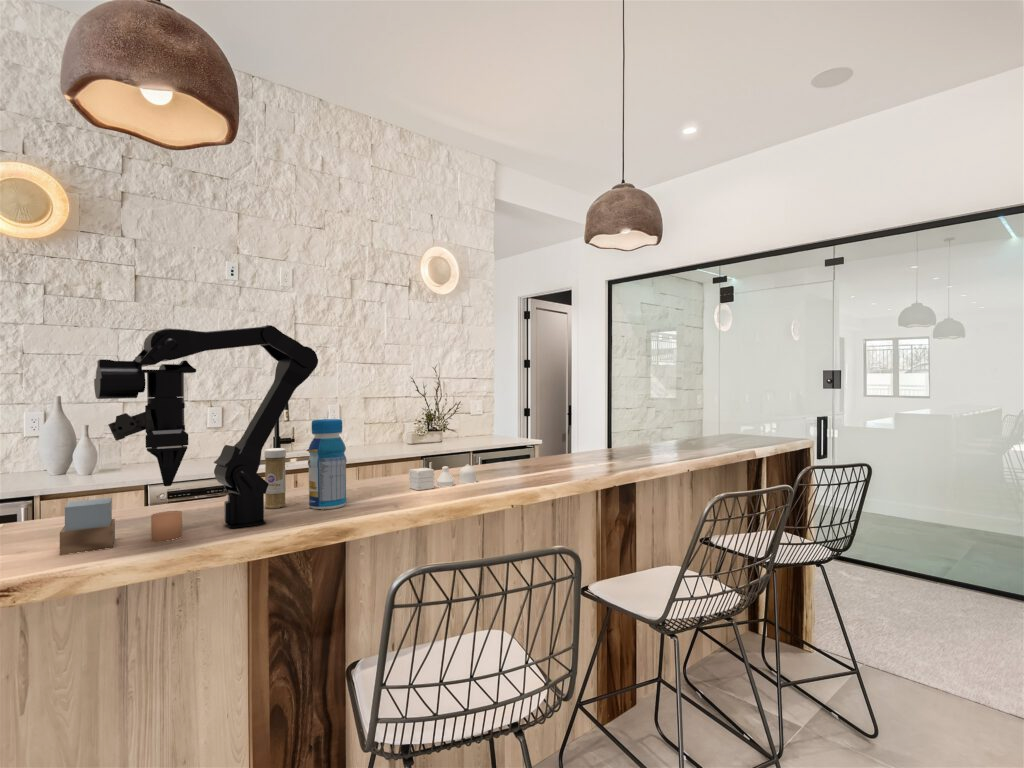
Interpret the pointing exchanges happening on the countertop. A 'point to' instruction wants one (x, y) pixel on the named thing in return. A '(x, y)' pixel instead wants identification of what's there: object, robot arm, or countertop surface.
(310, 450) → the beverage bottle
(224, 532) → the countertop surface
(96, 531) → the tower base
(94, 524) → the tower top
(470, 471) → the container set
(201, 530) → the countertop surface
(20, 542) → the countertop surface
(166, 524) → the tan cylinder
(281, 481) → the sprinkles bottle
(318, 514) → the countertop surface
